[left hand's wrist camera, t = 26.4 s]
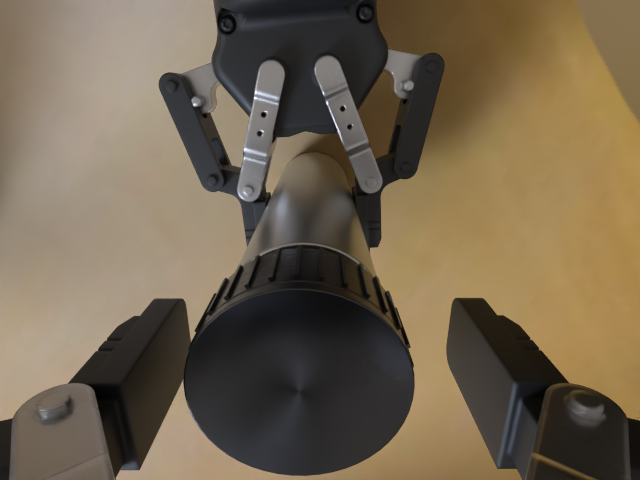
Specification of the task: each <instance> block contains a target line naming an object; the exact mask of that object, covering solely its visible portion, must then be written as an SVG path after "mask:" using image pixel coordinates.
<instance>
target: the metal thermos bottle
mask: <svg viewBox="0 0 640 480" xmlns="http://www.w3.org/2000/svg"><path fill="white" fill-rule="evenodd" d="M298 246H302V248H312V249H320V248H324V250H325V251H329V252H332V253H336V254H338V255H340V254H344V255H345V257H346V258H348V259H350V260H352V261H354V262H355V263H357V264H359V263H361V264H363V266H364V269H366V270H367V271H368V272H369V273H370V274H371V275H372V276H373V277H375V276H377V275H376V272H375V269H374V266H373V262H372V259H371V256H370V253H369V250H368V246H367V243H366V240H365V237H364V233H363V230H362V227H361V224H360V221H359V217H358V214H357V211H356V208H355V204H354V201H353V198H352V195H351V192H350V188H349V185H348V182H347V179H346V175H345V173H344V171H343V169H342V167H341V166H340V164H339V163H338V162H337V161H336V160H334V159H333V158H332V157H330V156H328V155H326V154H323V153H318V152H309V153H304V154H301V155H299V156H297V157H296V158H294V159H293V160H292V161H290V162H289V163H288V165H287V166H286V167H285V169H284V171H283V173H282V175H281V177H280V179H279V182H278V184H277V186H276V188H275V190H274V192H273V194H272V196H271V198H270V200H269V203H268V205H267V207H266V209H265V211H264V213H263V215H262V217H261V219H260V221H259V224H258V226H257V228H256V230H255V232H254V234H253V236H252V238H251V240H250V242H249V245H248V247H247V249H246V251H245V253H244V255H243V257H242V259H241V261H240V263H239V265H242V266H244V265H245V264H247V263H248V262H250V261H252V260H254V259H255V256H257V255H260V256H263V255H265V254H268V253H271V252H275V251H276V249H279V248H280V250H284V249H293V248H297V247H298Z"/></svg>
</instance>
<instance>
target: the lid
mask: <svg viewBox="0 0 640 480" xmlns="http://www.w3.org/2000/svg"><path fill="white" fill-rule="evenodd" d="M195 332H196V334H195V336H194V338H193V340H192V342H191V344H190V345H189V348H188V351H189V353H188V355H187V358H186V363H185V368H184V381H183V383H184V391H185V397H186V401H187V404H188V408H189V410H190V412H191V414H192V416H193V419H194V420H195V422H196V423H197V425H198V426H199V428H200V429H201V431H202V432H203V433H204V434H205V435H206V437H207V438H208V439H209V440H210V441H211V442H212V443H213V444H215V445H216V446H217V447H218V448H219V449H221V450H222V451H223V452H225V453H226V454H227V455H229V456H231V457H233V458H234V459H236V460H238V461H240V462H242V463H244V464H246V465H249V466H251V467H254V468H257V469H260V470H263V471H267V472H272V473H276V474H284V475H295V476H308V475H320V474H325V473H331V472H335V471H338V470H342V469H345V468H348V467H350V466H353V465H355V464H358V463H360V462H362V461H364V460H365V459H367V458H369V457H371V456H372V455H374V454H375V453H376V452H378V451H379V450H381V449H382V448H383V447H384V446H385V445H386V444H387V443H388V442H390V440H391V439H392V438H393V437H394V436H395V435H396V434H397V432H398V431H399V429H400V428H401V426H402V425H403V423H404V421H405V419H406V417H407V415H408V413H409V411H410V407H411V404H412V400H413V395H414V387H415V386H414V371H413V367H414V364H413V361H412V358H411V355H410V352H409V349H408V348H410V344H409V341H408V338H407V336H406V333H405V330H404V327H403V324H402V322H401V319H400V316H399V313H398V310H397V308H395V306H394V303H393V300H392V297H391V295H390V292H389V291H387V292H386V291H385V290H384V288H383V287H382V286H381V284H380V281H379V278H378V277H377V276H375V277H373V276H372V275H371V274H370V273H369V272H368V271H367V270H366V269H364V266H363V264H361V263H359V264H357V263H355V262H354V261H352V260H350V259H348V258H346V257H345V255H344V254H340V255H338V254H336V253H332V252H329V251H325V250H324V248H320V249H312V248H302V246H298V247H297V248H293V249H284V250H280V248H279V249H276V251H275V252H271V253H268V254H265V255H263V256H260V255H257V256H255V259H254V260H252V261H250V262H248V263H247V264H245V265H244V266H242V265H239V266H238V267H237V270H236V272H235V273H234V274H233V275H232V276H231V277H230V278H229V279H227V278H225V279H224V280H223V282H222V284H221V286H220V288H219V290H218V292H217V294H216V293H214V295H213V297H212V299H211V301H210V303H209V305H208V307H207V308H206V310H205V312H204V314H203V316H202V318H201V320H200V322H199V324H198V325H197V327H196V329H195Z"/></svg>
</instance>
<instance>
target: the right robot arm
mask: <svg viewBox="0 0 640 480" xmlns="http://www.w3.org/2000/svg"><path fill="white" fill-rule="evenodd" d="M213 1H214V8H215V15H216V22H217V30H218V35H217V42H216V46H215V49H214V52H213V55H212V63H209V64H206V65H204V66H201V67H199V68H196V69H193V70H191V71H188V72H185V73H183V74H177V73H165V74H164V75H162V77H161V78H160V80H159V89H160V91H161V94H162V96H163V98H164V100H165V103H166V105H167V107H168V109H169V112H170V114H171V116H172V118H173V121H174V123H175V125H176V127H177V130H178V132H179V134H180V136H181V139H182V141H183V143H184V145H185V148H186V150H187V152H188V154H189V157H190V159H191V161H192V163H193V166H194V168H195V170H196V172H197V175H198V177H199V179H200V181H201V184H202V186H203V187H204V188H205V189H206V190H208V191H211V192H216V191H221V192H225V193H228V194H231V195H233V196H235V197H236V198H237V199H238V200H239V201H240V203H241V207H242V214H243V221H244V228H245V235H246V242H247V247H248V245H249V242H250V240H251V238H252V236H253V234H254V232H255V230H256V228H257V226H258V224H259V221H260V219H261V217H262V215H263V213H264V211H265V209H266V207H267V205H268V203H269V200H270V198H271V193H270V192H267V193H266V187H265V185H266V181H267V177H268V172H269V168H270V163H271V159H272V155H273V152H274V149H275V145H276V140H277V137H289V136H292V135H295V134H298V133H301V132H304V131H308V132H313V133H318V134H330V133H337V132H338V134H339V136H340V139H341V141H342V144H343V146H344V149H345V151H346V154H347V156H348V159H349V161H350V164H351V166H352V169H353V171H354V173H355V187H352V198H353V201H354V204H355V208H356V211H357V214H358V217H359V221H360V224H361V227H362V230H363V233H364V237H365V240H366V243H367V246H368V250H369V253H370V248H371V247H378V245H379V243H380V240H381V201H380V197H381V192H382V190H383V188H384V187H385V186H386V185H388V184H389V183H392V182H394V181H396V180H399V179H409V178H411V177H412V176H413V175H414V174H415V173H416V171H417V168H418V164H419V160H420V157H421V153H422V149H423V146H424V142H425V138H426V134H427V131H428V127H429V123H430V119H431V116H432V112H433V108H434V104H435V101H436V97H437V93H438V90H439V86H440V82H441V78H442V75H443V71H444V60H443V58H442V57H441V56H440V55H439V54H436V53H429V54H424V55H417V54H412V53H407V52H402V51H397V50H392V49H388V45H387V42H386V40H385V38H384V37H383V35H382V33H381V31H380V28H379V25H378V21H377V10H376V0H213ZM382 71H385V72H387V73H388V74H389V76H390V78H391V91H392V93H393V95H394V96H396V97H397V98H400V99H401V100H400V104H399V109H398V113H397V117H396V121H395V125H394V129H393V134H392V138H391V142H390V146H389V150H388V154H386V155H384V156H382V157H380V158H377V159H375V158H374V155H373V153H372V150H371V147H370V144H369V141H368V138H367V135H366V133H365V130H364V127H363V125H362V122H361V119H360V117H359V114H358V112H357V111H358V110H359V108H360V107H361V105H362V103H363V102H364V100H365V98H366V97H367V95H368V94H369V92H370V90H371V89H372V87H373V86H374V84H375V82H376V81H377V79H378V78H379V76H380V74H381V73H382ZM219 84H221V85H222V86H223V87H224V88H225V89H226V90H227V91H228V93H229V94H230V95H231V96H232V97H233V98H234V100H235V101H236V102H237V103H238V104H239V105H240V107H241V108H242V109H243V110H244V111H245V112H246V114H247V115H248V116H249V117H250V119H249V124H248V129H247V134H246V139H245V144H244V149H243V161H242V166H241V168H239V167H235V166H232V165H231V163H230V160H229V158H228V155H227V153H226V151H225V148H224V146H223V143H222V141H221V138H220V136H219V134H218V131H217V129H216V126H215V124H214V121H213V119H212V117H211V114H210V112H212V111H213V110H214V109H215V108H216V105H217V99H216V94H215V93H216V89H217V87H218V85H219Z"/></svg>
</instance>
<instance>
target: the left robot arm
mask: <svg viewBox="0 0 640 480" xmlns="http://www.w3.org/2000/svg"><path fill="white" fill-rule="evenodd" d="M190 344H191V339H190V332H189V324H188V317H187V309H186V304H185V301H184V300H183V299H154V300H153V301H152V302H151V303H150V305H149V306H148V307H147V308H146V309H145V311H144V312H143V313H142V314H141V316H134V317H132V318H130V319H129V320H127V321H126V322H124V323H122V324H121V325H119V326H118V327H117V328H116V329H115V330H114V331H113V332H112V334H111V335H110V336H109V337H108V338H107V341H105V342H104V343H103V344H102V345H101V346H100V347H99V349H98V351H96V352H95V353H94V354H93V355H92V357H91V358H90V359H89V360H88V361H87V362H86V363H85V365H84V366H83V367H82V368H81V369H80V370H79V371H78V373H77V374H76V375H75V376H74V377H73V378H72V379H71V381H70V382H69V383H68V384H64V385H59V386H56V387H53V388H50V389H47V390H45V391H43V392H41V393H39V394H37V395H35V396H34V397H32V398H31V399H29V400H28V401H27V402H25V403H24V404H23V405H22V406H21V407H20V408H19V409H18V410H17V412H16V413H15V415H14V417H13V418H12V419H8V420H4V421H0V480H116V476H117V475H118V473H119V471H120V470H140V468H141V466H142V464H143V462H144V460H145V458H146V455H147V453H148V451H149V449H150V447H151V445H152V443H153V441H154V439H155V437H156V435H157V433H158V431H159V428H160V426H161V424H162V422H163V420H164V418H165V416H166V414H167V412H168V410H169V408H170V406H171V403H172V401H173V399H174V397H175V395H176V393H177V391H178V389H179V387H180V385H181V383H182V381H183V379H184V368H185V363H186V358H187V355H188V353H189V351H188V348H189V345H190ZM446 350H447V360H448V364H449V367H450V370H451V372H452V374H453V376H454V378H455V380H456V382H457V384H458V387H459V389H460V391H461V393H462V395H463V397H464V399H465V401H466V403H467V405H468V408H469V410H470V412H471V414H472V416H473V418H474V420H475V422H476V424H477V427H478V429H479V431H480V433H481V435H482V437H483V439H484V441H485V443H486V446H487V448H488V450H489V452H490V454H491V456H492V458H493V460H494V462H495V465H496V467H497V469H517V470H518V472H519V474H520V476H521V477H522V479H523V480H640V421H639V420H634V419H630V418H627V417H626V415H625V413H624V412H623V410H622V409H621V408H620V407H619V406H618V405H617V404H616V403H615V402H613V401H612V400H611V399H609V398H608V397H606V396H605V395H603V394H601V393H599V392H597V391H595V390H593V389H590V388H587V387H584V386H581V385H576V384H570V383H569V382H568V381H567V380H566V379H565V378H564V376H563V375H562V374H561V373H560V372H559V371H558V369H557V368H556V367H555V366H554V365H553V364H552V363H551V361H550V360H549V359H548V358H547V357H546V356H545V354H544V353H543V352H542V351H541V350H539V348H538V346H537V345H536V344H535V343H534V342H533V341H532V340H530V337H529V336H528V335H527V334H526V332H525V331H524V330H523V329H522V328H521V327H520V326H519V325H518V324H516V323H515V322H513V321H511V320H510V319H508V318H507V317H505V316H503V315H497V314H496V313H495V312H494V311H493V309H492V308H491V307H490V306H489V304H488V303H487V302H486V301H485V300H484V299H483V298H455V299H454V300H453V303H452V307H451V315H450V323H449V331H448V338H447V348H446Z"/></svg>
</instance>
